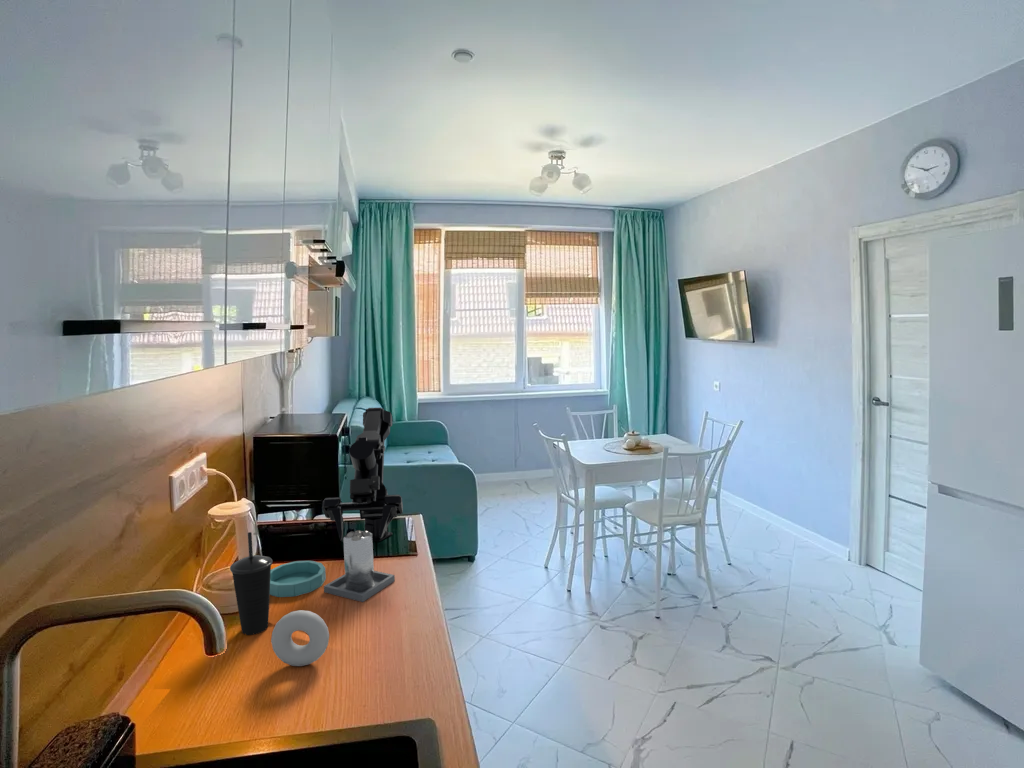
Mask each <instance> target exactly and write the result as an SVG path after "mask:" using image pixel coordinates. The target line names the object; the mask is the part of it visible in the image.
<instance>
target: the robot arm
mask: <svg viewBox="0 0 1024 768" xmlns="http://www.w3.org/2000/svg"><path fill="white" fill-rule="evenodd" d="M362 426H363V429H362V430H363V431H362V433H360V434H358V435H356V438H355V440H354V441H355V442H354V443H352V444H351V445H350V448H349V451H348V453H349V456H350V461H351V464H352V467H353V469H354V478H353V479H350V480H349V498H350V500H351V502H342V499H341V497H340V496H339V497H325V498H324V500H323V501H322V505H321V509H322V511H323V513H324V517H325V518H326V519H330V521H331V522H335V524H336V529H337V532H338V538H339V540H340V541H341V542H343V537H344V517H343V515H344V511H346V512H347V511H359V518H360V520H364V531H369V532H371V533H372V539H373V542H377V543H378V542H381V541H383V540H384V539H386V538H388V537H391V536H392V535H393V532H391V531H389V525H390V524H391V522H392V520H393V519H395V518H398V515H402V514H403V512H404V511H403V510H404V509H403V508H404V505H403V497H402V496H401V494H389V493H388V490H387V487H386V486H385V485H384V469H385V468H384V466H385V465H384V463H385V452H386V446H385V441H386V440H387V438H388V437H389V435H390V434H391V427H393V415H392V413H391V411H388V410H385V409H384V407H368V408H366V409H365V411H364V412H363V413H362Z"/></svg>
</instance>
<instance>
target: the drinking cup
mask: <svg viewBox="0 0 1024 768" xmlns="http://www.w3.org/2000/svg"><path fill="white" fill-rule="evenodd" d="M252 535H253V534H252V532H251V531H250V532H247V540H248V542H247V543H248V545H247V546H248V556H245V557H242V558H241V559H239V560H236V561H235V562H233V563H232V564H231V565H230V567H229V570H230V572H231V573H232V579H233V585H234V593H235V597H236V605H237V610H238V616H239V622H240V628H241V633H242V634H243V635H245V634H246V636H253V635H257V634H261V633H263V632H265V631H266V630H267V629H268V627H269V618H270V615H269V614H270V596H271V595H270V574H271V569H272V565H273V559H272V558H271V557H270V556H265V555H256V554H255V555H254V553H253V551H254V550H253V537H252Z"/></svg>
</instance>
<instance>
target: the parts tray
mask: <svg viewBox="0 0 1024 768" xmlns="http://www.w3.org/2000/svg"><path fill="white" fill-rule="evenodd" d="M395 580H396V577H395V574H391V573H387V572H382V571H378V570H374V586H373V587H371V588H370V589H368V590H367V591H365V592H360V593H358V592H354V591H350V590H346V584H345V573H344V574H343V575H341V576H339V577H337V578H335V579H334V580H331V581H330V582H329V583H327V584H325V585H324V586H323V593H325V594H329V595H332V596H333V595H334V596H336V597H337V596H338V597H339V598H340V597H341V598H345V599H347V600H348V599H349V600H353V601H357V602H361V603H365V601H367V600H368V599H370V598H371V597H372V596H375V595H376V594H377V593H379V592H381V591H382V590H383V589H385V588H386V587H388V586H389V585H391V584H392V583H394V582H395Z"/></svg>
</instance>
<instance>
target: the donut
mask: <svg viewBox="0 0 1024 768" xmlns="http://www.w3.org/2000/svg"><path fill="white" fill-rule="evenodd" d="M296 631H297V632H298V631H300V632H305V633H306V634H307V635H308V638H309V640H308V643H307V644H304V645H299V644H297V643H295V642H294V641H293V638H292V635H293V633H294V632H296ZM329 640H330V632H329V627H328V626H327V624H326V622H325V620H324V619H323V618H322V617H321V616H320V615H319V614H317V613H315V612H313V611H311V610H303V609H302V610H301V609H299V610H293V611H290V612H289V613H287V614H285V615H283V616H282V617H281V618H280V619H279V620H278V621H277V622H276V623H275V625H274V628H273V630H272V633H271V641H270V642H271V647H272V650H273V652H274V654H275V655H276V656H277V658H278V659H279V660H280V661H281V662H283V663H284V664H287V665H288V666H293V667H303V666H309V665H310V664H313V663H314V662H316V661H318V660H320V659H319V658H321V657H322V656H323V655H324V654H325V652H326V649H327V648H328V646H329Z"/></svg>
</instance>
